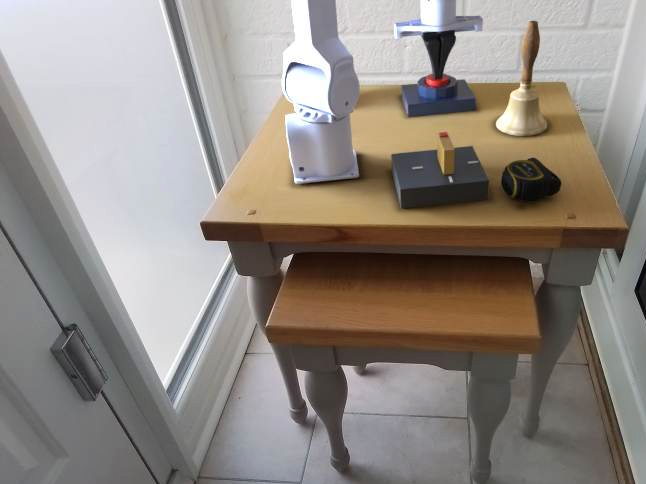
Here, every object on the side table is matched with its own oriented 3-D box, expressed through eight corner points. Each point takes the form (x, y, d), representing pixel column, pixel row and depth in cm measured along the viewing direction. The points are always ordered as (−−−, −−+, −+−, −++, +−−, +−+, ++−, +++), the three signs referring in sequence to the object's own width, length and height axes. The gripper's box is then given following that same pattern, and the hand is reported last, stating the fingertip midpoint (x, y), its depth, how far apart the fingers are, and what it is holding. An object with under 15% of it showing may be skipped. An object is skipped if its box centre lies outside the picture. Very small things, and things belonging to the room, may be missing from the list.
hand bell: (486, 121, 91) (494, 20, 80) (526, 110, 93) (539, 11, 82) (515, 141, 85) (527, 34, 74) (557, 129, 87) (575, 24, 77)
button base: (408, 116, 94) (407, 94, 91) (401, 96, 100) (400, 75, 98) (475, 110, 94) (476, 87, 92) (464, 90, 101) (465, 69, 98)
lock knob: (453, 173, 72) (454, 147, 70) (443, 174, 72) (444, 148, 70) (447, 156, 76) (447, 131, 74) (437, 157, 76) (437, 132, 74)
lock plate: (400, 208, 72) (400, 188, 70) (392, 172, 80) (391, 152, 78) (488, 199, 73) (489, 179, 71) (471, 164, 80) (472, 144, 78)
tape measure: (561, 200, 72) (565, 176, 69) (515, 211, 70) (518, 186, 68) (535, 176, 77) (538, 152, 74) (491, 186, 75) (493, 162, 73)
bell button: (428, 92, 94) (428, 82, 93) (424, 83, 97) (424, 73, 96) (450, 90, 94) (450, 80, 93) (446, 81, 97) (446, 71, 96)
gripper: (477, -19, 88) (472, 65, 97) (390, -12, 88) (394, 72, 97) (488, -8, 83) (482, 79, 92) (396, -1, 83) (398, 87, 92)
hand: (437, 77), depth 94 cm, fingers closed, pressing on bell button
